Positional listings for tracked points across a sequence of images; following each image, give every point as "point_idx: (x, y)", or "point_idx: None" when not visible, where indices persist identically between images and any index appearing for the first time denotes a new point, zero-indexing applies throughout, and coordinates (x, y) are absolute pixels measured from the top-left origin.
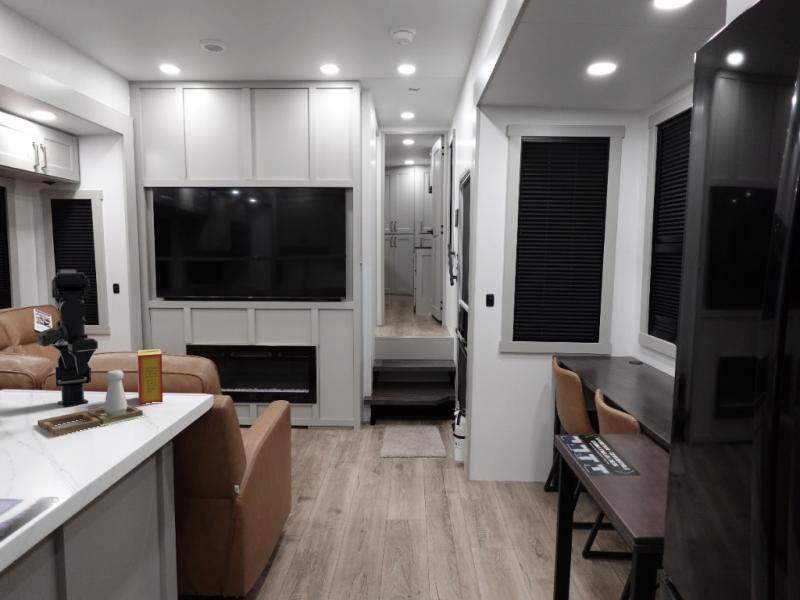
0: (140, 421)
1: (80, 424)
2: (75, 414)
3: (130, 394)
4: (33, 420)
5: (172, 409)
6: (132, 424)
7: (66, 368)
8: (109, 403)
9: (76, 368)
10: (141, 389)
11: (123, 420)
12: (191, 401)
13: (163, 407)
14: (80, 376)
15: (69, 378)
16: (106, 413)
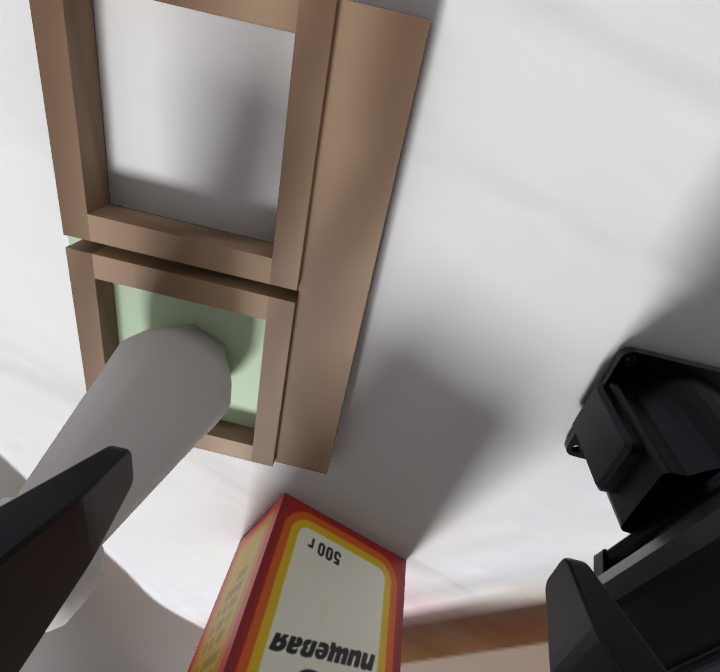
0: (35, 353)
1: (55, 120)
2: (301, 234)
3: (486, 579)
4: (573, 71)
5: None
6: (12, 311)
7: (564, 564)
8: (117, 364)
9: (667, 648)
10: (253, 571)
11: None
12: (167, 574)
13: (171, 503)
14: (613, 574)
15: (683, 524)
16: (179, 328)
